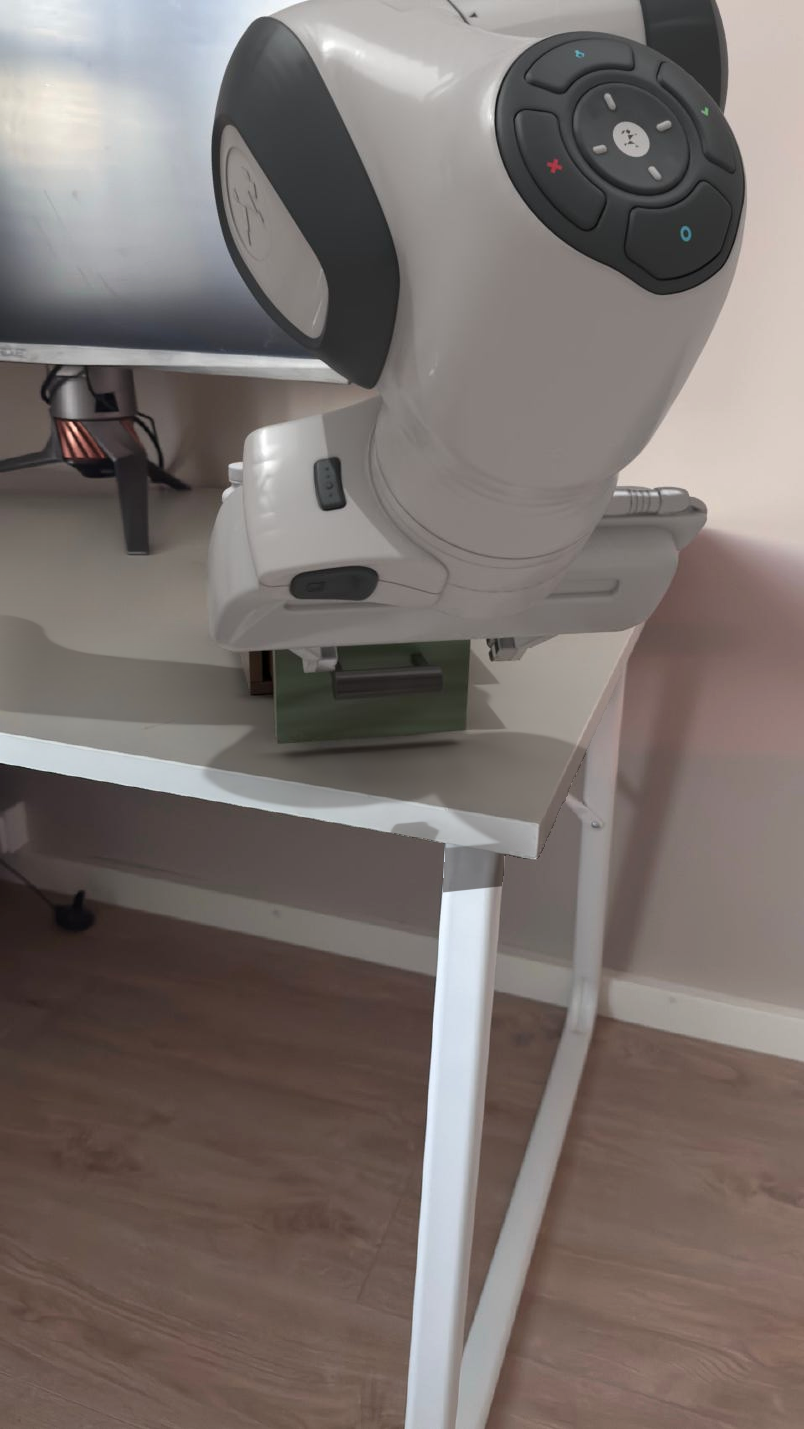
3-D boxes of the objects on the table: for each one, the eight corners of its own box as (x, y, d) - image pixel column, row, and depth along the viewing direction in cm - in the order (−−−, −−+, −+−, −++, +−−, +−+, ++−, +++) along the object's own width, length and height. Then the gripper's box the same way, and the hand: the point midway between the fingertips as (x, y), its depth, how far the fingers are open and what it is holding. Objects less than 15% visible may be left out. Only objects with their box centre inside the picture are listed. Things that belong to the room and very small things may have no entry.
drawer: (487, 760, 62) (495, 630, 59) (286, 776, 59) (283, 641, 56) (414, 655, 78) (417, 548, 75) (253, 664, 75) (250, 554, 72)
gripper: (706, 426, 44) (593, 589, 57) (203, 431, 40) (201, 606, 52) (745, 560, 42) (618, 698, 55) (216, 580, 38) (211, 726, 50)
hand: (410, 653), depth 53 cm, fingers open, 8 cm apart
